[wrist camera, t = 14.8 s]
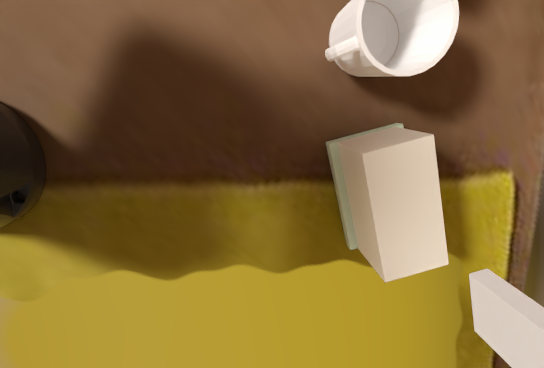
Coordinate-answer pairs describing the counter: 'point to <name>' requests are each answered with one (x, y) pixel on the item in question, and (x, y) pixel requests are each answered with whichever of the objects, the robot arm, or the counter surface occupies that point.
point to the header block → (341, 187)
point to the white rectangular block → (395, 201)
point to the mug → (392, 36)
